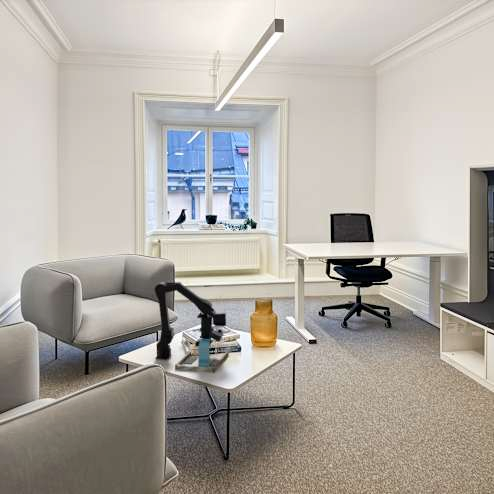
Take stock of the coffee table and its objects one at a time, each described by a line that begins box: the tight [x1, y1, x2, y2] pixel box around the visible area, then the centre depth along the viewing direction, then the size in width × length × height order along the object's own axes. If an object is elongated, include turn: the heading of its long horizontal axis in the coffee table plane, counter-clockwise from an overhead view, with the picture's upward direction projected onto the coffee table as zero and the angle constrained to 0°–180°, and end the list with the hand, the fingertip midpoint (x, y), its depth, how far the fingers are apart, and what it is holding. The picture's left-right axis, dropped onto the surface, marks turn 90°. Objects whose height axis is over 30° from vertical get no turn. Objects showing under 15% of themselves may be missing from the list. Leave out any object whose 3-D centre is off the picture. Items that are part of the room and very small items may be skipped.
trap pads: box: [183, 356, 220, 367], centre depth 239 cm, size 17×9×1 cm, turn 77°
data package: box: [197, 338, 211, 367], centre depth 234 cm, size 12×4×12 cm, turn 0°
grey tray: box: [174, 350, 229, 374], centre depth 239 cm, size 20×26×2 cm
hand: (206, 354), depth 245 cm, fingers closed
